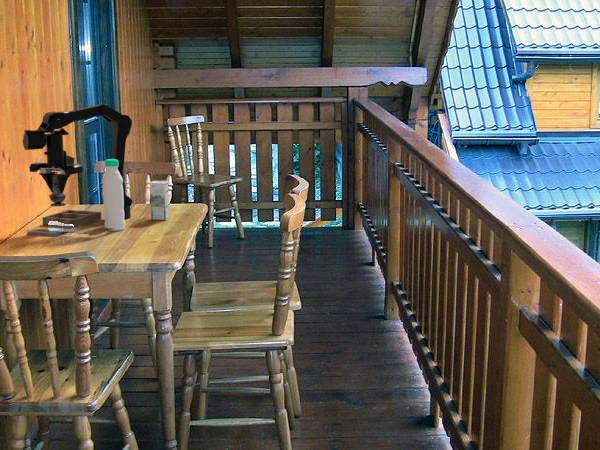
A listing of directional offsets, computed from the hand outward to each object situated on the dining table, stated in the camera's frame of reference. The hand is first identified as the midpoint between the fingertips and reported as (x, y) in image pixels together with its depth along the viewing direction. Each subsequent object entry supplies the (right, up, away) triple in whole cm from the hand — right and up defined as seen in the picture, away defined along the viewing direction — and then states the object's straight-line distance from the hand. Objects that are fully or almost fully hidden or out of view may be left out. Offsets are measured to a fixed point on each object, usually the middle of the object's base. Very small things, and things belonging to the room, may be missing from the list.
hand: (57, 192), depth 294 cm
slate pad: (-2, -14, -3) cm, 15 cm away
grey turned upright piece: (0, -5, +1) cm, 5 cm away
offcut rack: (+3, -12, +10) cm, 15 cm away
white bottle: (+20, -13, +1) cm, 24 cm away
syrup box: (+33, -10, +20) cm, 40 cm away
